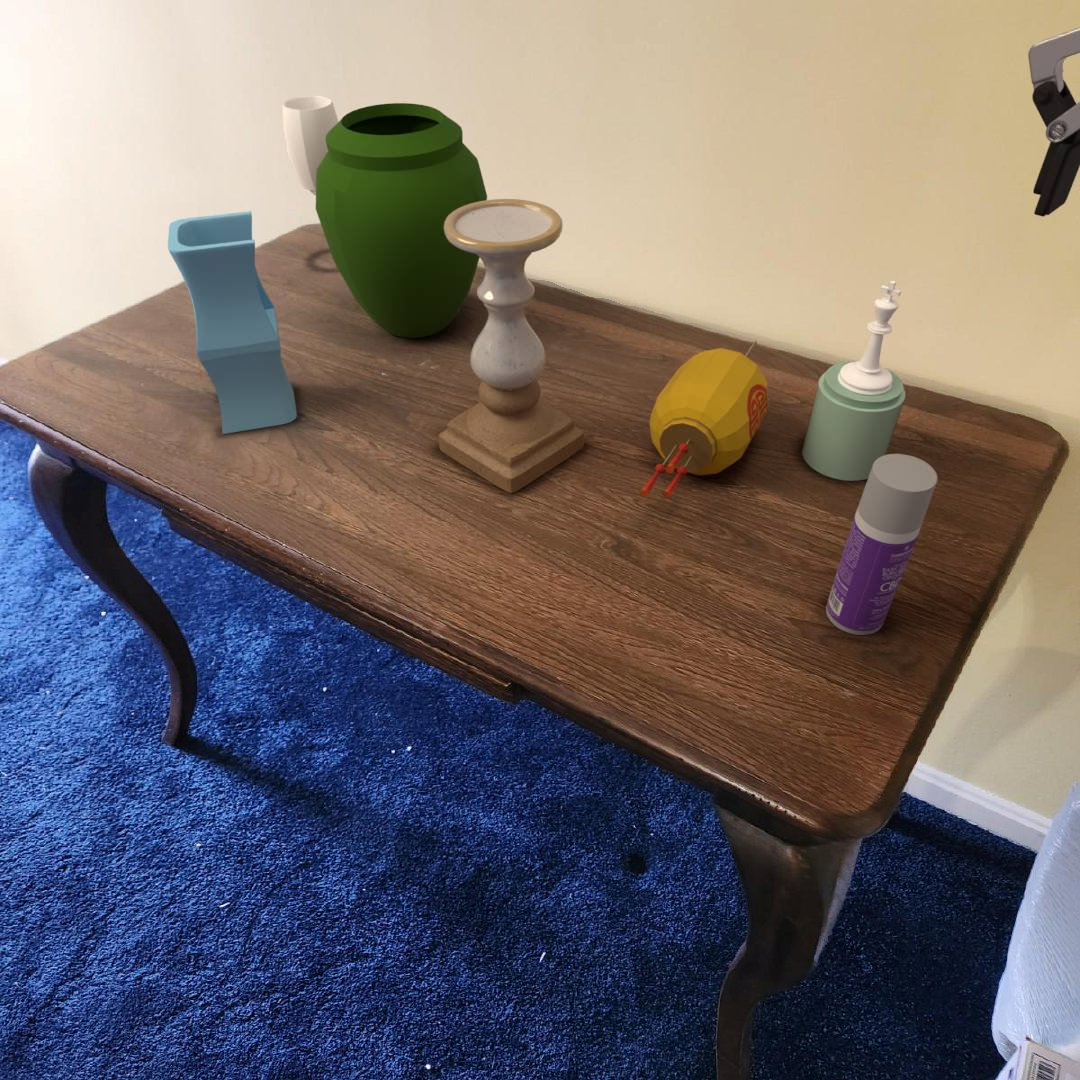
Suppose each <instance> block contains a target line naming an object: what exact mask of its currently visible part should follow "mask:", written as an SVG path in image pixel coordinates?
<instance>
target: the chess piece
mask: <svg viewBox="0 0 1080 1080" xmlns="http://www.w3.org/2000/svg"><path fill="white" fill-rule="evenodd" d="M896 285H897V281H894V280H891V281H889V283H888V286H887V285H884V284H883V285H881V286H880V288H879V293H883V294H885V297H879V298H877V299H875V301H874V313H875V314H874V317H875V320H872V321H869V322H868V324H867V325H866V328H867V330H868V332H870V333H871V335H870V338H869V341H868V343H867V346H866V348H865V350H864V352H863V355H862V357H861V358H860V360H858V362H851V363H848V364H846V365H844V366H843V367H842V368H841V370H840V373H839V374H838V381H839V382H840V384H841V385H842V386H843V387H845V388H846V389H848V390H850V391H852V392H855V393H858V394H863V395H879V394H883V393H885V392H887V391H889V390H890V389H891V387H892V380H893V378H892V375H891V373H890V372H889V371H888V370H889V369H888V368H887V369H888V370H887V369H885V368H886V367H884V366H882V365H881V363H880V359H881V353H882V345H883V340H884V335H889V334H891V333H892V332H893V328H892V327H893V326H892V324H890V323H889V321H890V320H891V319H892V317H893V315H894V314H895V312H897V310H898V308H899V302H898V301H897V300H896V299H893V297H896V298H899V297H901V294H902V290H901V289H900V290H899V289H897V288H896Z"/></svg>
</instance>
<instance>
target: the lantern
mask: <svg viewBox="0 0 1080 1080" xmlns="http://www.w3.org/2000/svg"><path fill="white" fill-rule="evenodd" d="M757 344H758V342H757V340H755V341H754V342H753V343H752V345H751V346H750V347H749V349H748V351H747V352H746V354H745V355H744V354H743V353H742V352H740V351H735V350H731V349H727V348H722V347H718V348H714V349H709V350H704V351H700V352H699V353H696V354H694V355H693V356H692V357H690V358H689V359H687V361H685V362H684V363H683V364H682V365H681V366H679V368H677V370H676V372H675V373H674V374H673V376H672V377H671V378H670V379H669V381H668V382H667V384H665V386H664V388H663V389H662V390H661V392H659V394H658V395H657V396H656V400H655V403H654V406H653V408H652V411H651V413H650V418H649V423H648V425H649V431H650V438H651V442H652V444H653V446H654V447H655V449H656V450H657V451H658V453H659V455H660V456H661V458H662V459H664V462H663V463H658V464H656V466H655V467H654V469H655V472H654V473H653V474H652V475H651V477H650V478H649V480H648V481H647V482H646V483H645V485H644V486H643V487H642V489H641V490H640V491H639V495H640V496H641V497H642V498H648V496H649V494H650V493H651V490H652V489H653V487H654V485H655V483H656V482H657V480H658V478H659V477H660V475H661V474H665V473H668V474H673V473H674V471H675V469H676V472H677V473H676V474H675V476H674V478H673V479H672V481H670V483H669V484H668V486H666V488H665V490H663V493H662V496H663V497H664V498H666V499H670V498H671V497H672V494H673V493H674V491H675V490H676V487H677V485H678V483H679V482H680V480H681V478H682V477H683V476H686V475H687V474H688V473H689V474H692V475H695V476H706V475H716V474H719V473H720V472H722V471H723V470H725V469H727V468H728V467H730V466H731V465H733V464H735V463H736V462H737V461H739V460H740V459H741V458H742V457H743V455H744V453H745V452H746V450H747V448H748V446H749V444H750V443H751V441H752V439H753V438H754V436H755V434H756V433H757V430H758V429H759V427H760V426H761V423H762V421H763V419H764V418H765V415H766V413H767V412H768V409H769V393H768V392H769V391H768V381H767V379H766V377H765V376H764V374H763V373H762V371H761V369H760V367H759V365H758V364H757V363H755V362H754V361H753V360H752V359H750V358H749V356H750V354H751V353H752V351H753V350H754V348H755V347H756V345H757ZM667 462H668V464H667V466H666V465H665V464H666V463H667Z"/></svg>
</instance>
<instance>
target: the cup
mask: <svg viewBox="0 0 1080 1080" xmlns="http://www.w3.org/2000/svg"><path fill="white" fill-rule="evenodd" d="M282 122H283V123H282V124H283V133H284V139H285V146H286V151H287V154H288V157H289V162H290V164H291V166H292V169H293V171H294V173H295V175H296V177H297V179H298V181H299V183H300V185H301V187H302V188H303V189H306V190H307V191H309V192H310V193H311V194H312V195H313V196H316V174H317V168H318V166H319V165H320V163H321V161H322V160H323V158H324V157H325V155H326V153H327V152H328V148H327V144H326V135H327V133H328V132H329V131H330V130H331V129H332V128H333V127H334V126H335V125H336V124H337V123H338V122H339V118H338V115H337V113H336V109H335V106H334V102H333V100H332V99H330V97H326V96H320V95H304V96H296V97H293V98H290V99H288V100H285V101H284V102H283V103H282Z"/></svg>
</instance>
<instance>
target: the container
mask: <svg viewBox="0 0 1080 1080" xmlns="http://www.w3.org/2000/svg"><path fill="white" fill-rule="evenodd" d="M866 480H867V481H866V483H865V486H864V488H863V491H862V494H861V497H860V500H859V503H858V506H857V509H856V511H855V514H854V518H853V520H852V523H851V527H850V529H849V532H848V536H847V539H846V542H845V546H844V549H843V552H842V555H841V557H840V561H839V565H838V568H837V571H836V574H835V577H834V580H833V583H832V587H831V589H830V593H829V596H828V599H827V602H826V606H825V612H826V616H827V618H828V620H829V622H831V623H832V624H833V626H835V627H836V628H837V629H839V630H840V631H843V632H845V633H848V634H851V635H854V636H855V635H857V636H868V635H872V634H875V633H876V632H878V631H879V630H880V629H881V628H882V627H883V625H884V622H885V621H886V618H887V615H888V613H889V610H890V608H891V605H892V603H893V600H894V598H895V595H896V593H897V590H898V588H899V585H900V582H901V580H902V577H903V575H904V573H905V570H906V567H907V565H908V562H909V560H910V557H911V555H912V552H913V550H914V547H915V544H916V542H917V539H918V536H919V535H920V531H921V528H922V525H923V523H924V519H925V517H926V514H927V511H928V508H929V505H930V502H931V500H932V497H933V494H934V491H935V488H936V485H937V482H938V474H937V471H935V469H934V468H933V467H932V466H931V465H930V464H929V463H927V462H926V461H924V460H922V459H920V458H918V457H916V456H913V455H909V454H902V453H890V454H888V453H887V454H886V455H884V456H881V457H879V458H878V459H877V460H876V461H875V462H874V464H873V466H872V469H871V472H870V475H869V478H868V479H866Z"/></svg>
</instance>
